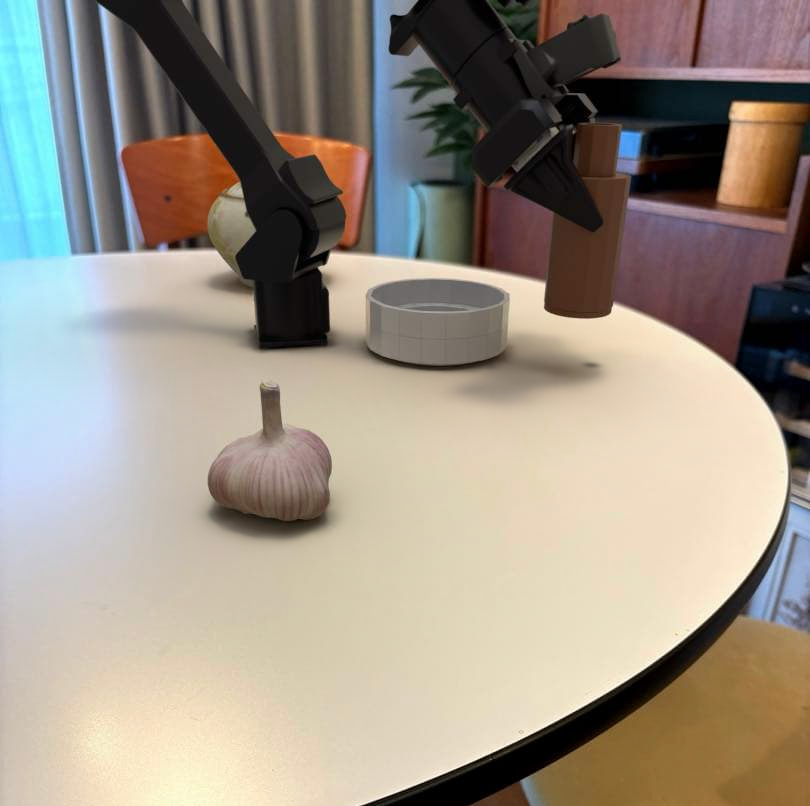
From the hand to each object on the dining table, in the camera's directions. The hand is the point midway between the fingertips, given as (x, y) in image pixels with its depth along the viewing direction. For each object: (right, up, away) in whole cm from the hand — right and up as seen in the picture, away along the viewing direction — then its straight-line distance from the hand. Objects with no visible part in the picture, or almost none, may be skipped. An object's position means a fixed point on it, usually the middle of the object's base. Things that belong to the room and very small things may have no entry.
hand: (605, 222), depth 66 cm
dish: (-13, -7, +12) cm, 19 cm away
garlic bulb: (-24, -24, -16) cm, 37 cm away
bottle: (-1, -6, +4) cm, 7 cm away
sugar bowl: (-32, +6, +35) cm, 47 cm away
